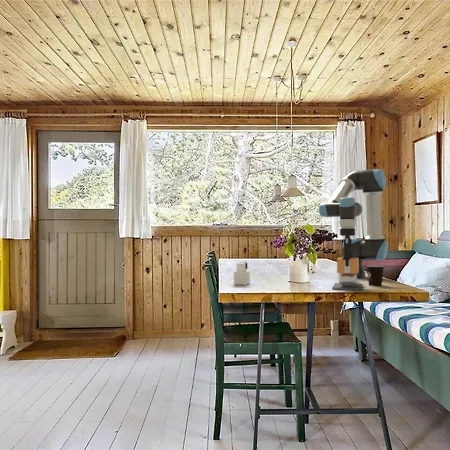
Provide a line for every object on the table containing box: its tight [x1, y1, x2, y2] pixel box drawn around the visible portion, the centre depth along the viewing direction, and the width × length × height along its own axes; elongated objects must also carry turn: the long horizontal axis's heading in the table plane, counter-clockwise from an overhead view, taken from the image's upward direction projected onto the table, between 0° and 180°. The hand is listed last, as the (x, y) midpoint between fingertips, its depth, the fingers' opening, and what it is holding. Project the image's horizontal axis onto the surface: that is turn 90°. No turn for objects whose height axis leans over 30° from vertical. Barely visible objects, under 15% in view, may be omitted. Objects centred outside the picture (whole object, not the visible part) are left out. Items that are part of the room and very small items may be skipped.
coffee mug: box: [365, 264, 385, 287], centre depth 232 cm, size 12×9×10 cm
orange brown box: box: [336, 257, 359, 274], centre depth 222 cm, size 10×10×7 cm
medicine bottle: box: [233, 261, 251, 286], centre depth 239 cm, size 7×7×12 cm
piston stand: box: [332, 273, 364, 292], centre depth 222 cm, size 18×14×12 cm
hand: (347, 271), depth 222 cm, fingers closed on orange brown box, 10 cm apart
